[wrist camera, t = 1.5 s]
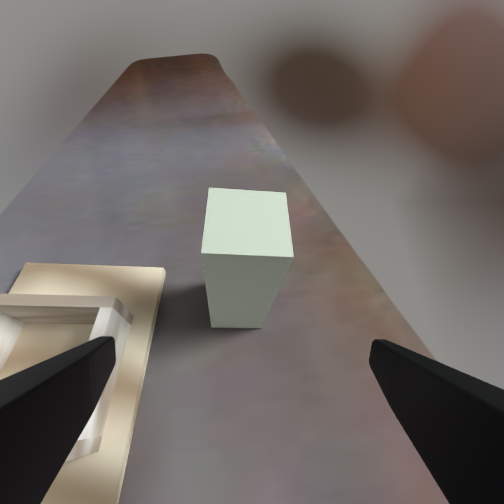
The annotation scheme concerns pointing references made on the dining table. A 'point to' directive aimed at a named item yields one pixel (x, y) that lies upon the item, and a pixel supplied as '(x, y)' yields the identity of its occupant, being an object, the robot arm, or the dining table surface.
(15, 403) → the robot arm
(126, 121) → the dining table surface
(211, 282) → the peg
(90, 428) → the holder
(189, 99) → the dining table surface
